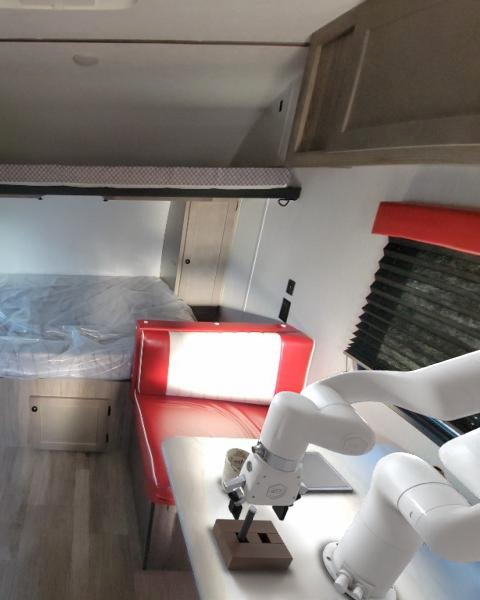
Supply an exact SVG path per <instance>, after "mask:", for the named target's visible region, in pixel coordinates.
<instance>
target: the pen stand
mask: <svg viewBox="0 0 480 600" xmlns="http://www.w3.org/2000/svg"><path fill="white" fill-rule="evenodd" d="M243 522H244V519H238V520H235V519H234V518H233V519H232V518H216V519H215V522H214V524H213V527H212V529H211V530H212V533H213V536H214V538H215V541H216V544H217V546H218V548H219V551H220V554H221V556H222V559H223V561H224V563H225V566H226V568H227V570H252V571H253V570H256V571H288V570H289V568H290V566H291V564H292V562H293V560H294V557H293V556H292V553H291V552H290V550H289V549H288V547H287V545H286V544H285V542H284V540H283V538H282V536H281V534H280V533H279V531H278V530H277V528H276V526H275V525H274V523H273V520H266V519H253V521H252V523H251V526H250V528H249V530H248V533H247V535H246V537H245V540H244V542H243V543H239V540H238V538H237V536H238V534H239V532H240V529H241V527H242V524H243Z"/></svg>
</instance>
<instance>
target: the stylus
mask: <svg viewBox="0 0 480 600" xmlns="http://www.w3.org/2000/svg"><path fill="white" fill-rule="evenodd" d="M257 511H258V509H257V507H256V505H252V504H250V505H249V507H248V509H247V511H246V515H245V516H244V519H243V520H244V522H243V524H242V527H241V529H240V532H239V534H238V536H237V538H238V540H239V543H243V542H244V540H245V537H246V535H247V533H248V530H249V528H250V526H251V523H252V521H253V520H255V516H256V514H257Z"/></svg>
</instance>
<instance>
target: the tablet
mask: <svg viewBox="0 0 480 600" xmlns="http://www.w3.org/2000/svg"><path fill="white" fill-rule="evenodd" d="M301 463H302V465H303V474H302V481H301V482H302V483H304V484H305V485H306V487H307V488H308V491H307V492H306V493H326V492H327V493H337V492H338V493H339V492H341V493H345V492H346V493H347V492H348V493H349V492H351V493H352V492H354V488H352V486H351V485H349V483H348V482H347V481H346V480H345V479H344V478H343V477H342V476H341V475H340V474H339V473H338V472H337V471H336V470H335V468H334V467H333V466H332V465H331V464H330V463H329V462H328V461H327V459H325V457H324V456H323V455H321V453H320V452H310V451H309V452H307V451H306V452H305V454H304V457H303V459H302V462H301Z"/></svg>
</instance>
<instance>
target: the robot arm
mask: <svg viewBox="0 0 480 600" xmlns="http://www.w3.org/2000/svg"><path fill="white" fill-rule="evenodd" d="M365 402H367V403H369V402H372V403H383V404H388V405H392V406H394V407H399V408H402V409H404V410H407V411H409V412H410V411H411V412H412V413H415V414H419V415H422V416H425V417H429V418H431V419H434V420H437V421H444V422H448V421H449V422H450V421H455V420H459V419H462V418H465V417H469V416H473V415H477V414H480V349H479V350H475V351H472V352H468V353H466V354H463V355H460V356H456V357H453V358H450V359H446V360H444V361H441V362H438V363H435V364H432V365H428V366H425V367H421V368H418V369H414V370H411V371H398V370H369V369H368V370H367V369H366V370H361V369H360V370H350V371H344V372H340V373H337V374H334V375H330V376H327V377H324V378H322V379H319V380H316V381H314V382H312V383H310V384H308V385H306V386H305V387H304V388H302V390H301V391H300V392H299V393H298V392H294V391H289V390H284V391H283V390H282V391H279V392H277V393H275V394H274V396H273V397H272V399H271V402H270V405H269V407H268V411H267V414H266V417H265V419H264V422H263V425H262V428H261V431H260V434H259V438H258V439H257V443H256V445H252V446H251V451H250V452H249V453H250V454H249V456H248V458H247V459H246V461H245V463H244V465H243V467H242V469H241V472H240V475H239V477H237V478H234V479H231V480H228V481H225V482H223V485H224V487H225V490H226V492H227V493H226V492H225V493H226V495H227V496H228V498H229V502H228V506H227V507H228V511H229V513H230V514H232V518H233V519H235V520H240V517H241V514H242V511H243V508H244V507H243V504H245V503H247V504H248V505H249V504H250V505H253V506H269V507H271V508H272V510H273V512H274V514H275V515H276V517H277V518H278V520H279V521H281V522H284V520H285V518H286V516H287V513H288V511H289V508H292V507H294V505H295V504H294V503H295V502H297V501H299V500H300V499H301V498H302V496H304V495H305V494H306V493H308V492H307V491H308V488H307V487H306V485H305V484H304V483H302V482H301V481H302V474H303V465H302V463H301V462H302V459H303V457H304V454H305V452H307V450H308V447H309V445H314V446H317V447H320V448H323V449H325V450H327V451H330V452H333V453H336V454H339V455H344V456H348V457H350V456H351V457H359V456H364V455H367V454H368V453H370V452H372V450H373V449H374V448H375V446H376V442H377V440H376V434H375V431H374V430H373V429H372V428H371V426H370V425H369V423H368V422H367V421H366V420H365V419H364V418H363V417H362V416H361V414H359V413H358V412H357V411H356V409H355V408H354V407H353V406H352V404H358V403H365ZM438 458H439V460H440V461H441V463H442V464H443V467H445V468H446V469H447V470H448V472H449V473H450V474H451V475H453V477H454V478H455V479H457V480H458V481H459V483H461V484H462V485H463V486H464V487H465V488H466V489H467V490H468V491H469V492H470V493H471V494H472V495H473V496H474V497H475V498H476V499H478V500H479V501H480V427H478V428H476V429H473V430H471V431H468V432H466V433H463V434H461V435H459V436H457V437H454V438H452V439H451V440H448V441H446V442H445V443H443V444H442V445H441V446H440V447H439V450H438ZM432 466H433V465H431V464H430V463H428V462H427V461H426V460H424V459H422V458H421V457H419V456H417V455H414V454H411V453H407V452H399V451H398V452H391V453H389V454H386V455H384V456H383V457H381V458H380V459H379V460H378V462H377V463H376V464H375V466H374V468H373V471H372V476H371V479H370V484H369V488H368V491H367V493H366V496H365V497H364V499H363V501H362V503H361V505H360V506H359V508H358V509H357V511H356V513H355V514H354V516H353V518H352V520H351V521H350V523H349V525H348V526H347V529H346V530H345V532H344V534H343V535H342V537H341V539H340V541H332V542H329V543H327V544H326V546H325V547H324V548H323V551H322V560H323V563H324V566H325V568H326V570H327V572H328V573H329V575H330V577H331V578H332V580H334V582H333V588H334V589H335V590H336V591H337V592H338V593H340V594H345V593H346V594H348V596H349V597H350V598H352V599H353V600H397V598H398V597H397V591H396V587H395V583H396V581H397V580H398V579H399V577H400V576H401V575H402V573H403V572H404V571H405V569H406V568H407V566H409V563H411V561H412V559H414V557H415V556H416V555H417V553H418V551H419V550H420V549H421V548H422V546H423V545H424V544H425V545H426V546H427V547H428V548H429V549H430V550H431V551H432V552H433V553H434V554H436V555H437V556H438V557H440V558H442V559H443V560H446V561H448V562H452V563H458V564H471V563H477V562H480V502H479V503H477V504H474V505H473V504H472V503H471V502H470V501H469V500H468V499H467V498H466V497H464V496H463V495H462V494H461V492H460V491H459V490H458V489H457V488H456V487H455V486H454V485H452V483H451V482H450V481H448V479H447V478H446V479H447V480H446V479H445V478H444V477H443V476H442V475H441V474H440V473H439V472H438V471H437V470H436V469H435V468H434V467H432ZM225 490H224V491H225ZM241 491H242V493H243V496H241V497H240V498H239V496H238V495H237V494H238V493H240V492H241Z"/></svg>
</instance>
